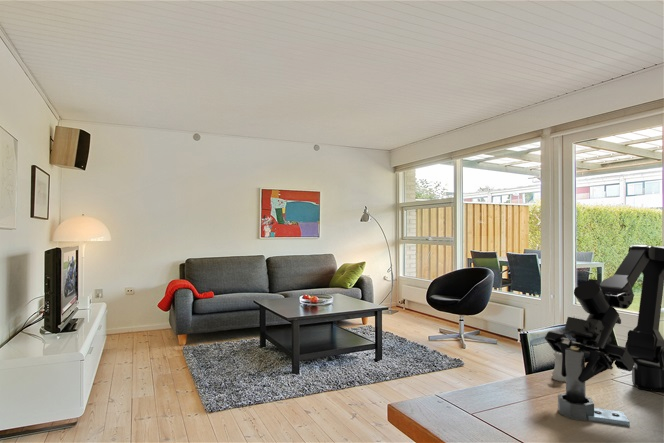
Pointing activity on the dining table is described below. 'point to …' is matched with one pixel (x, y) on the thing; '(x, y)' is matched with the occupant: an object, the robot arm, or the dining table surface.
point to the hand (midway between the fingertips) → (571, 378)
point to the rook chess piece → (558, 368)
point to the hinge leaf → (590, 412)
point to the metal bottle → (575, 375)
